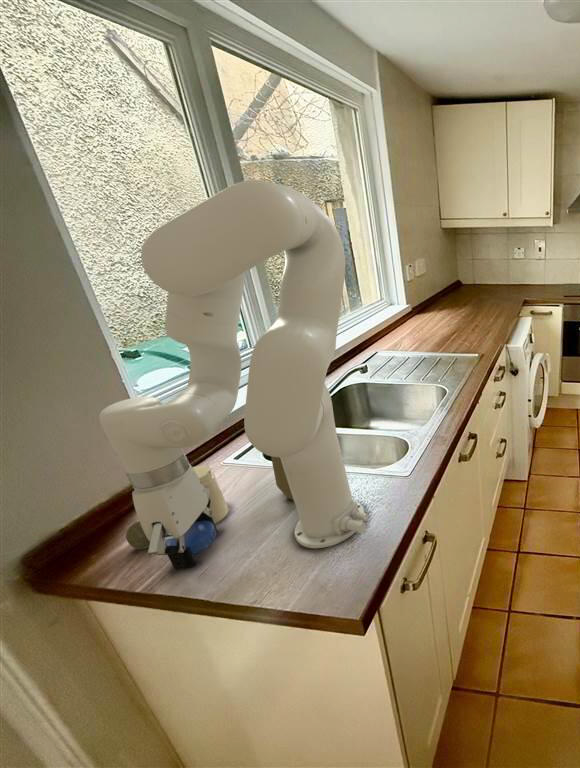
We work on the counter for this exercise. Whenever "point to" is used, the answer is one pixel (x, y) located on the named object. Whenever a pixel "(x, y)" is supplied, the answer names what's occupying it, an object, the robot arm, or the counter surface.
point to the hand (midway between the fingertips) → (197, 549)
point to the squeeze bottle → (281, 477)
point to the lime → (137, 536)
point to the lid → (198, 536)
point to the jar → (212, 492)
